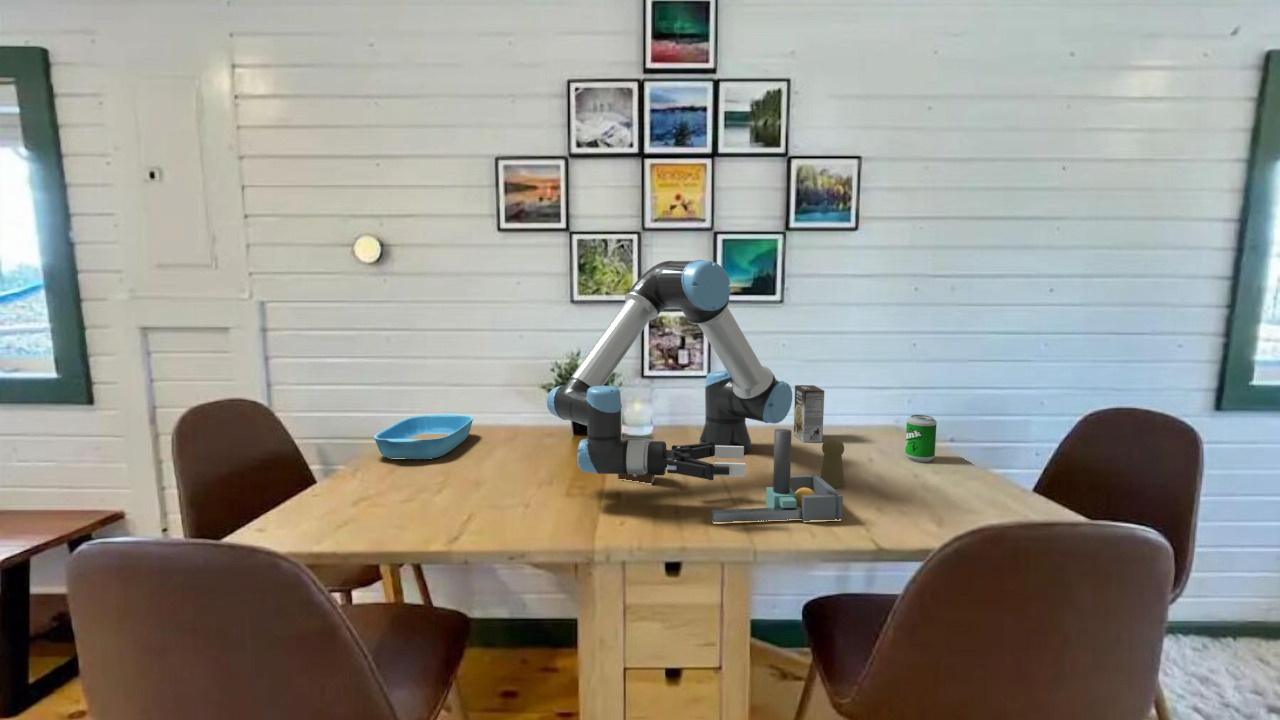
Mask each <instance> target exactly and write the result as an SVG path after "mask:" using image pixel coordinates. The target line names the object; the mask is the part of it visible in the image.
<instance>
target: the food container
mask: <svg viewBox="0 0 1280 720" xmlns="http://www.w3.org/2000/svg"><path fill="white" fill-rule="evenodd" d="M621 440H634V441H646V442H647V443H649V442H651V441H655V440H654V439H650V438H642V437H628V438H621ZM616 475H617V480H618V479H626V480H632V481H639V482H645V483H651V484H653V483H654V484H655V477H656V475H650V474H648V472H646V474H645V475H638V474H637V476H636V477H634V476H633V474H616ZM654 484H653V485H654Z"/></svg>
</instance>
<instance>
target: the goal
mask: <svg viewBox="0 0 1280 720" xmlns="http://www.w3.org/2000/svg"><path fill="white" fill-rule="evenodd" d="M800 488H809V489H811V490H813V491H814V493H815V494H816V495H802V520H803V521H810V520H835V519H837V520H839V519H842V520H843V502H844V496H843V495H842V494H841V493H840V492H839V491H837V489H834V488H832V487H831V486H830V485H829V484H828V483H826V482H825V481H824V480H823V479H822V478H820V475H818V474H799V475H795V474H794V475H792V474H791V475H790V489H791V490H792V491H793V492H794V493H795V492H796V491H797V490H798V489H800Z"/></svg>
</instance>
